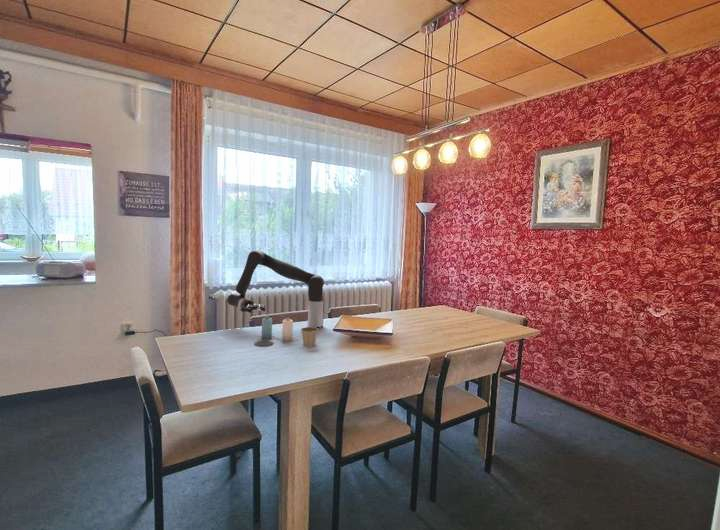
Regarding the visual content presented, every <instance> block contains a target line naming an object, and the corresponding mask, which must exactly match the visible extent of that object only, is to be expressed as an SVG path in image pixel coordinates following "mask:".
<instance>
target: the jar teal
mask: <svg viewBox="0 0 720 530" xmlns="http://www.w3.org/2000/svg"><path fill="white" fill-rule="evenodd" d="M261 336H262V339H271V338H272V336H273V318H272V317H269V316H265V317H263V318H261Z"/></svg>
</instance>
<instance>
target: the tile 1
mask: <svg viewBox="0 0 720 530" xmlns="http://www.w3.org/2000/svg"><path fill="white" fill-rule="evenodd" d="M254 338H255V339H257V340H258V341H274V340H276V339H277V338H278V337H276V336H274V335H272V338H271V339H262V335H260V336H254Z"/></svg>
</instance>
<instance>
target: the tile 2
mask: <svg viewBox="0 0 720 530" xmlns="http://www.w3.org/2000/svg"><path fill="white" fill-rule="evenodd" d="M276 338H277V339H275V340H276V341H278V342H279V343H282V344H289V343H294V342H299V341H300V340H299V339H297V338H295V337H293V336H292V340H291V341H283V340H282V337H276Z"/></svg>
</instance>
